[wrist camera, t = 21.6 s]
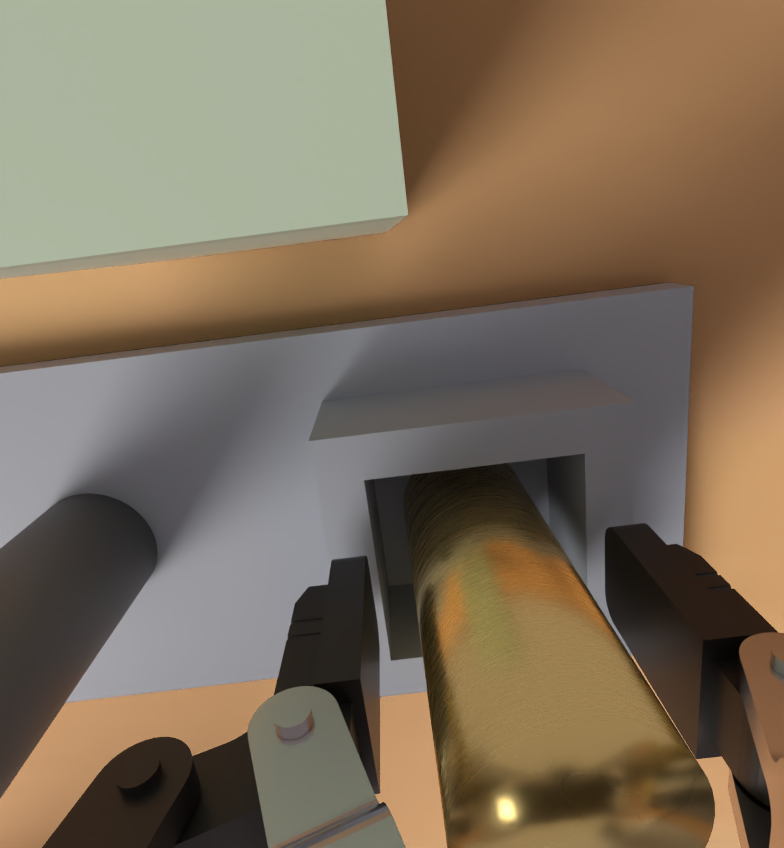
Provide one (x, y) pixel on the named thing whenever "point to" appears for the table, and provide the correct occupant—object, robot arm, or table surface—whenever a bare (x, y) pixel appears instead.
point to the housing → (192, 129)
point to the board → (307, 481)
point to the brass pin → (535, 685)
